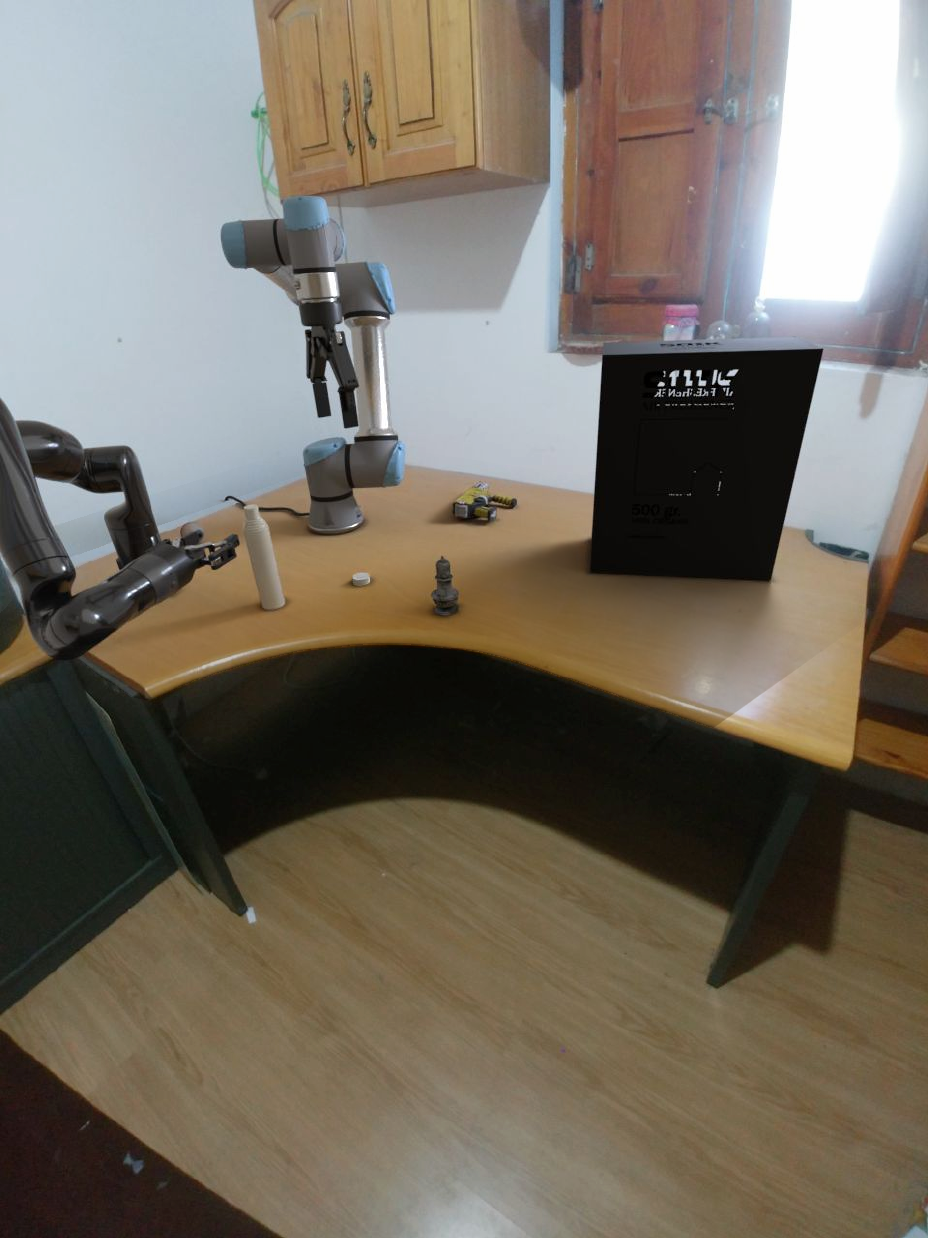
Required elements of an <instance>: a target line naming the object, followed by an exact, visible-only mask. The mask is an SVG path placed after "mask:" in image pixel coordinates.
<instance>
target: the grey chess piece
mask: <svg viewBox="0 0 928 1238" xmlns="http://www.w3.org/2000/svg"><path fill="white" fill-rule="evenodd" d="M453 578H454V576H453V574H452V572H451V562H450V560H448V559H446V558H445V556H444V555H441V556H440V559H438V560H436V561H435V576H434V579H435V580H436V588H435V589H434V590H432V591H431V592H430V598H431V599H432V602H433V603H434V605H435V606H434V607H433V613H434V614H436V615H438V616H452V615H455V614H456V613H458V612H459V610H460V606H459V605H458V604H457V602H458V600H459V596H460V594H461V593H460V591H459V589H457V588H456V587H453V581H452V579H453Z"/></svg>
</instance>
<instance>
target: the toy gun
mask: <svg viewBox="0 0 928 1238" xmlns="http://www.w3.org/2000/svg"><path fill="white" fill-rule="evenodd" d="M489 485H490V484H489V482H487V481H484V482H483V481H482V480H480V481H478V483H476V484H475V485H474V486H473V485H472V486H471V487H470V488H469V489H468V490H466V491H465V492H464V493H463V494H462V495H460V497H458V498H457V499H456V500H454V502H453V503H452V504H451V515H452V516H453V517H456V518H457V519H460V520H463V519H471V518H476V517H481V518H484V519H487V522H488V523H490V522H492V521H494V520H496V519H497V515H498V514H497V513H498V506H495V505H494V506H492V507H491V506H490V505H489V504H490V503H492V502H493V503H495V504H496V503H498V504H501V505H505V506H509V507H512V508H515V507H516V506H517V505H518V499H517V498H516V497H509V496H504V495H499V494H497V493H496V494H494V495H491V493H490V492H489V490H487V489H488V488H489Z"/></svg>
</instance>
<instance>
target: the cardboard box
mask: <svg viewBox="0 0 928 1238" xmlns="http://www.w3.org/2000/svg"><path fill="white" fill-rule="evenodd" d="M601 353H602V355H601V371H600V388H599V389H600V390H599V405H598V423H597V439H596V454H595V455H596V456H595V472H594V473H595V474H594V487H593V488H594V491H593V505H592V506H593V509H592V526H591V540H590V541H591V543H590V559H589V574H614V575H637V576H638V575H641V576H660V577H663V576H664V577H686V578H708V579H709V578H710V579H730V580H731V579H733V580H735V579H736V580H754V581H755V580H756V581H757V580H758V581H772V577H773V573H774V569H775V565H776V560H777V557H778V556H777V555H778V551H779V548H780V543H781V537H782V534H783V529H784V526H785V520H786V515H787V511H788V507H789V502H790V499H791V495H792V489H793V486H794V481H795V476H796V472H797V467H798V464H799V459H800V454H801V451H802V445H803V441H804V436H805V433H806V428H807V424H808V419H809V415H810V412H811V411H810V410H811V406H812V403H813V397H814V392H815V388H816V384H817V380H818V376H819V371H820V366H821V361H822V359H823V358H822V357H823V353H824V347H821V346H818V345H816V344H813V343H811V342H808V341H805V340H804V339H801V338H798V337H796V336H771V337H769V336H768V337H766V336H765V337H737V338H708V339H707V338H706V339H679V340H678V339H675V340H673V339H672V340H649V341H648V340H645V341H617V342H616V341H615V342H614V341H613V342H603V343H602V352H601ZM736 370H737V371H736ZM677 371H678V375H677V376H676V377H675V382H674V383H675V385H672V383H673V376H671V374H672V373H674V372H677ZM685 371H689V372H690V374H689V382H691V385H687V379H688V377H687V375H685ZM699 371H701V373H700V375H698V372H699ZM715 371H716V375H715ZM733 371H736V373H734V375H729V373H730V372H733ZM714 375H715V376H716V377H715V380H714ZM719 377H720V378H719ZM700 381H701V382H705V385H700ZM713 381H715V382H714V383H713ZM719 381H729V382H728V384H725V385H724V384H720V383H719ZM660 383H663V384H664V385H660Z"/></svg>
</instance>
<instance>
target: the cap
mask: <svg viewBox="0 0 928 1238" xmlns="http://www.w3.org/2000/svg"><path fill="white" fill-rule="evenodd" d="M370 582H371V578H370V574H369V573H367V572H358V573H355V574H353V575H352V583H353V585H354V586H357V587H364V586H367V585H369V584H370Z"/></svg>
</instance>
